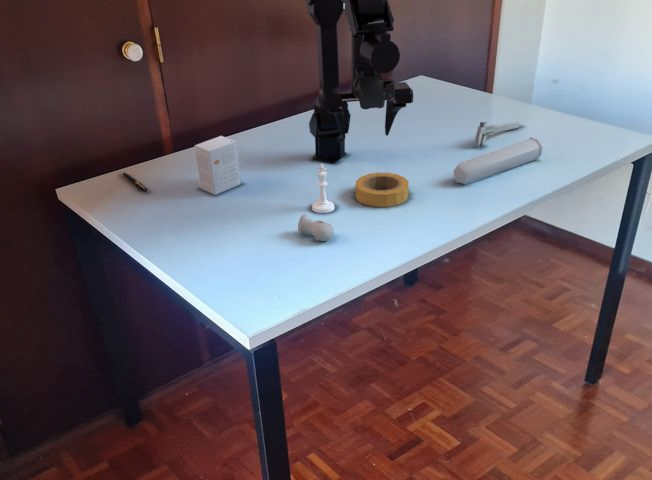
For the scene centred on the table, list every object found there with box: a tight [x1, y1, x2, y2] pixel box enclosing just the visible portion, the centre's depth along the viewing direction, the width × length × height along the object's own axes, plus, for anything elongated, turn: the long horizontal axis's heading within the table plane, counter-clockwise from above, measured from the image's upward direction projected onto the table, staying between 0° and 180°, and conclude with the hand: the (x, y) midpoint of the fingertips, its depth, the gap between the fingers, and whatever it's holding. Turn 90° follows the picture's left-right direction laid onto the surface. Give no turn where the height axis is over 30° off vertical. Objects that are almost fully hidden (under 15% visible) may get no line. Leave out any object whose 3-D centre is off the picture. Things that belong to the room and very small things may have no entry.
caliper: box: [474, 121, 522, 148], centre depth 182 cm, size 20×1×6 cm, turn 137°
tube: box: [453, 136, 543, 186], centre depth 165 cm, size 5×5×25 cm
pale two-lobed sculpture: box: [297, 213, 335, 242], centre depth 143 cm, size 4×8×5 cm
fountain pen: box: [121, 171, 148, 193], centre depth 167 cm, size 14×1×2 cm, turn 36°
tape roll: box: [355, 172, 410, 208], centre depth 157 cm, size 12×12×3 cm
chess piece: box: [311, 163, 335, 214], centre depth 151 cm, size 5×5×10 cm
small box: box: [194, 135, 242, 196], centre depth 162 cm, size 8×6×10 cm
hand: (365, 136), depth 150 cm, fingers open, 9 cm apart
